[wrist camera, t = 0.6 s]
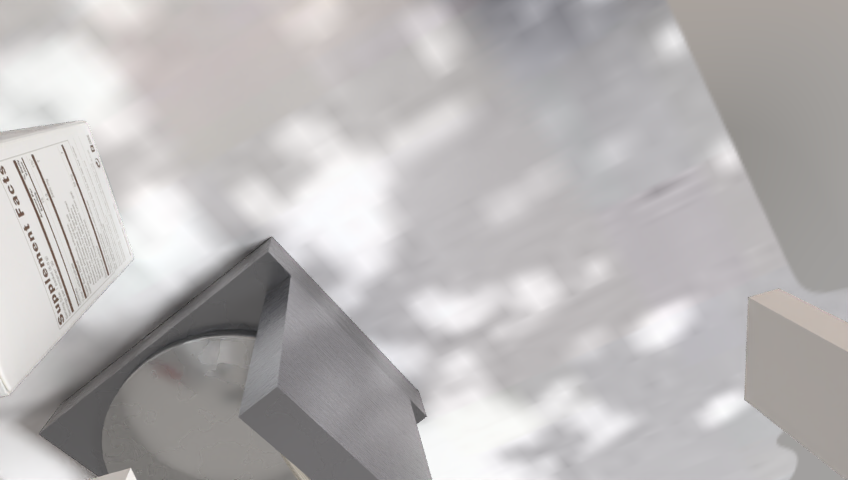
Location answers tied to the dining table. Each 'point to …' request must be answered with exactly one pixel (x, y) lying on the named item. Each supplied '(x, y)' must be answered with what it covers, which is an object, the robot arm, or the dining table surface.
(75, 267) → the supplement box
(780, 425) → the robot arm
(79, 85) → the dining table surface
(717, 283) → the dining table surface
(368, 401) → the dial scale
